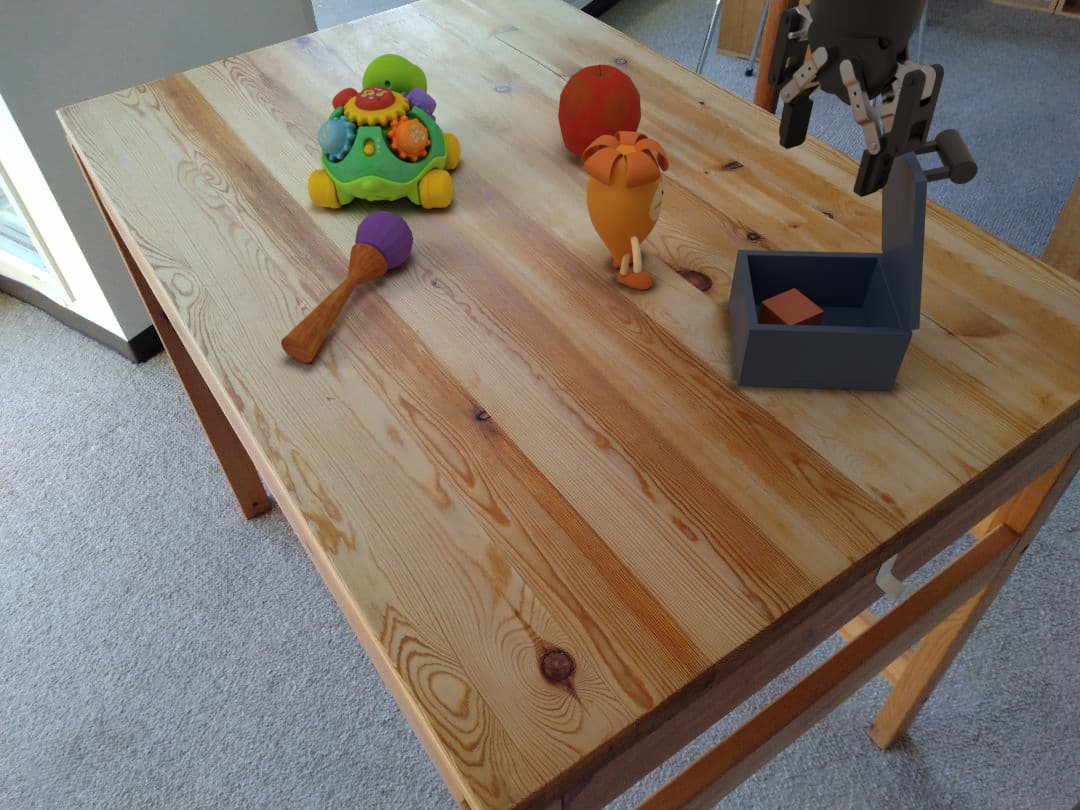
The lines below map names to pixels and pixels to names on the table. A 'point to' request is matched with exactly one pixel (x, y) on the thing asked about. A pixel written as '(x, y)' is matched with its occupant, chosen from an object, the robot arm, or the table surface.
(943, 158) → the lid
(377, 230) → the purple toy maraca
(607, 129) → the apple
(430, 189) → the turtle toy
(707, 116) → the table surface
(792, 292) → the block
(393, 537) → the table surface
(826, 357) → the dark blue box
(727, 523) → the table surface
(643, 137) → the toy figure
